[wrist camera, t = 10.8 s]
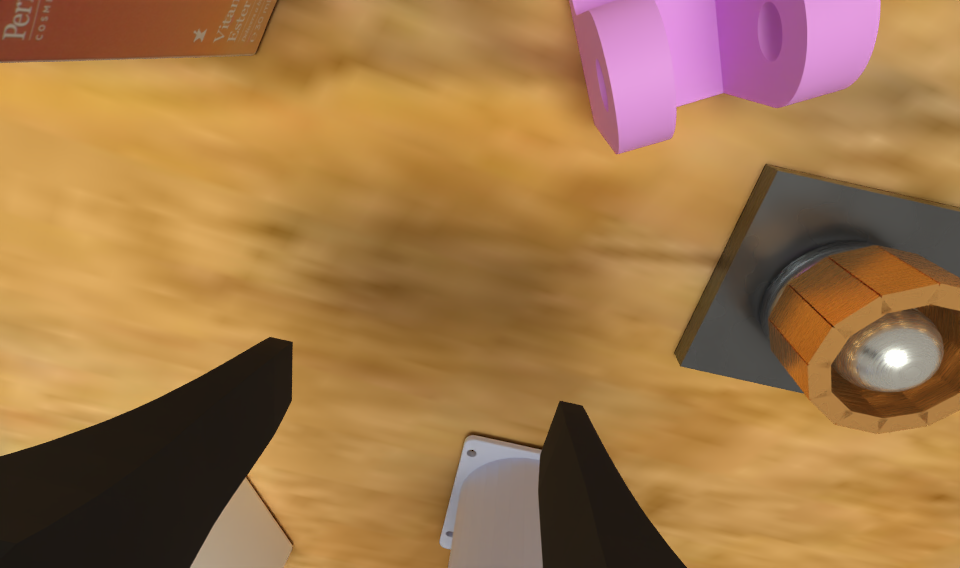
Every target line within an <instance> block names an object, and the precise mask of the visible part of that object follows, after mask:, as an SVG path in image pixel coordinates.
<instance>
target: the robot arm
mask: <svg viewBox="0 0 960 568" xmlns="http://www.w3.org/2000/svg"><path fill="white" fill-rule="evenodd" d="M292 346H293V342H290V341H286V340H281V339H277V338H272V337H269V338H267V339H265V340H264V341H262V342H260V343H258V344H257V345H255V346H253V347H251V348H250V349H248V350H246V351H245V352H243V353H241V354H239V355H238V356H236V357H234V358H233V359H231V360H229V361H227V362H226V363H224V364H222V365H220V366H219V367H217V368H215V369H213V370H211V371H210V372H208V373H206V374H204V375H202V376H201V377H199V378H197V379H195V380H193V381H191V382H189V383H187V384H185V385H183V386H181V387H179V388H177V389H175V390H173V391H171V392H169V393H167V394H165V395H164V396H162V397H160V398H158V399H155V400H153V401H151V402H149V403H147V404H145V405H142V406H140V407H138V408H136V409H133V410H131V411H129V412H126V413H124V414H121V415H119V416H117V417H114V418H112V419H110V420H107V421H104V422H102V423H99V424H97V425H94V426H91V427H88V428H86V429H83V430H80V431H77V432H74V433H72V434H69V435H66V436H63V437H61V438H58V439H55V440H52V441H49V442H46V443H43V444H40V445H37V446H34V447H30V448H27V449H24V450H21V451H18V452H14V453H11V454H7V455H4V456H0V568H190V567H191V565H192V563H193V561H194V560H195V558H196V556H197V554H198V552H199V551H200V549H201V547H202V545H203V543H204V542H205V540H206V538H207V536H208V534H209V533H210V531H211V529H212V527H213V526H214V524H215V522H216V521H217V519H218V518H219V516H220V514H221V513H222V511H223V510H224V508H225V507H226V505H227V504H228V502H229V501H230V499H231V498H232V496H233V495H234V493H235V492H236V491H237V489H238V488H239V486H240V485H241V483H242V482H243V480H244V479H245V477H246V476H247V474H248V473H249V472H250V470H251V469H252V467H253V466H254V464H255V463H256V461H257V460H258V458H259V457H260V455H261V454H262V452H263V451H264V449H265V448H266V447H267V445H268V444H269V442H270V441H271V439H272V437H273V436H274V434H275V433H276V431H277V429H278V427H279V425H280V423H281V421H282V419H283V417H284V415H285V413H286V411H287V409H288V407H289V405H290V403H291V401H292ZM470 450H474V451H470ZM440 545H441V546H442V547H443V548H446V549H451V552H450V558H449V565H448V568H687V567H686V566H685V565H684V564H683V562H682V561H681V560H680V559H679V558H678V556H677V555H676V554H675V553H674V552H673V550H672V549H671V548H670V547H669V545H668V544H667V543H666V541H665V540H664V539H663V538H662V536H661V535H660V534H659V532H658V531H657V530H656V528H655V527H654V526H653V524H652V523H651V522H650V520H649V519H648V517H647V516H646V515H645V513H644V512H643V510H642V509H641V507H640V506H639V504H638V503H637V501H636V500H635V498H634V497H633V495H632V493H631V492H630V490H629V489H628V487H627V486H626V484H625V482H624V481H623V479H622V477H621V476H620V474H619V472H618V470H617V469H616V467H615V465H614V464H613V462H612V460H611V458H610V457H609V455H608V453H607V451H606V449H605V448H604V446H603V444H602V442H601V440H600V438H599V436H598V434H597V432H596V430H595V429H594V427H593V425H592V423H591V421H590V419H589V417H588V415H587V413H586V411H585V409H584V408H583V406H581V405H577V404H572V403H568V402H563V401H560V402H559V404H558V407H557V410H556V413H555V415H554V418H553V421H552V424H551V426H550V429H549V432H548V434H547V437H546V440H545V443H544V445H543V448H542V450H540V449H536V448H531V447H527V446H522V445H518V444H513V443H508V442H504V441H499V440H495V439H490V438H486V437H481V436H476V435H471V436H468V437H467V438H466V439H465V442H464V446H463V450H462V454H461V458H460V462H459V466H458V469H457V473H456V477H455V481H454V485H453V489H452V493H451V497H450V501H449V505H448V509H447V513H446V517H445V521H444V525H443V528H442V532H441V536H440Z"/></svg>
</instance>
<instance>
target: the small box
mask: <svg viewBox="0 0 960 568" xmlns="http://www.w3.org/2000/svg"><path fill="white" fill-rule="evenodd" d="M276 1H277V0H0V63H14V62H55V61H86V60H119V59H157V58H184V57H195V58H196V57H222V56H251V55H254V54H255V52H256V51H257V48H258V45H259V43H260V40H261V38H262V36H263V33H264V31H265V28H266V25H267V23H268V20H269V18H270V15H271V13H272V10H273V8H274V6H275V4H276Z"/></svg>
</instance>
